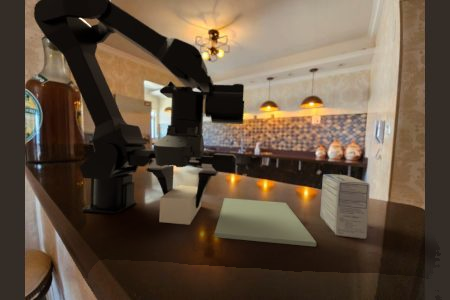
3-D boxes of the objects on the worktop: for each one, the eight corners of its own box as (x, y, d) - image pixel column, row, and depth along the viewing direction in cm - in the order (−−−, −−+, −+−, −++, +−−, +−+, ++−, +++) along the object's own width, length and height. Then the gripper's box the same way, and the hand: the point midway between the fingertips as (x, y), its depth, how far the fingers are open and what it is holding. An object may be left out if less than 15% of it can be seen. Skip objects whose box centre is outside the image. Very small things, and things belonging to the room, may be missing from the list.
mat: (214, 237, 26) (214, 232, 26) (224, 200, 43) (224, 198, 43) (316, 246, 25) (316, 242, 25) (285, 205, 42) (285, 202, 42)
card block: (159, 221, 30) (160, 197, 30) (177, 204, 39) (178, 185, 39) (189, 224, 30) (190, 200, 29) (201, 205, 39) (202, 186, 38)
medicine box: (367, 240, 28) (371, 183, 27) (334, 236, 29) (338, 180, 28) (344, 219, 35) (347, 175, 35) (319, 216, 36) (322, 173, 36)
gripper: (107, 112, 26) (103, 219, 27) (237, 117, 25) (231, 231, 25) (146, 121, 37) (143, 197, 38) (238, 125, 36) (233, 204, 37)
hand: (183, 206), depth 34 cm, fingers closed on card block, 5 cm apart
